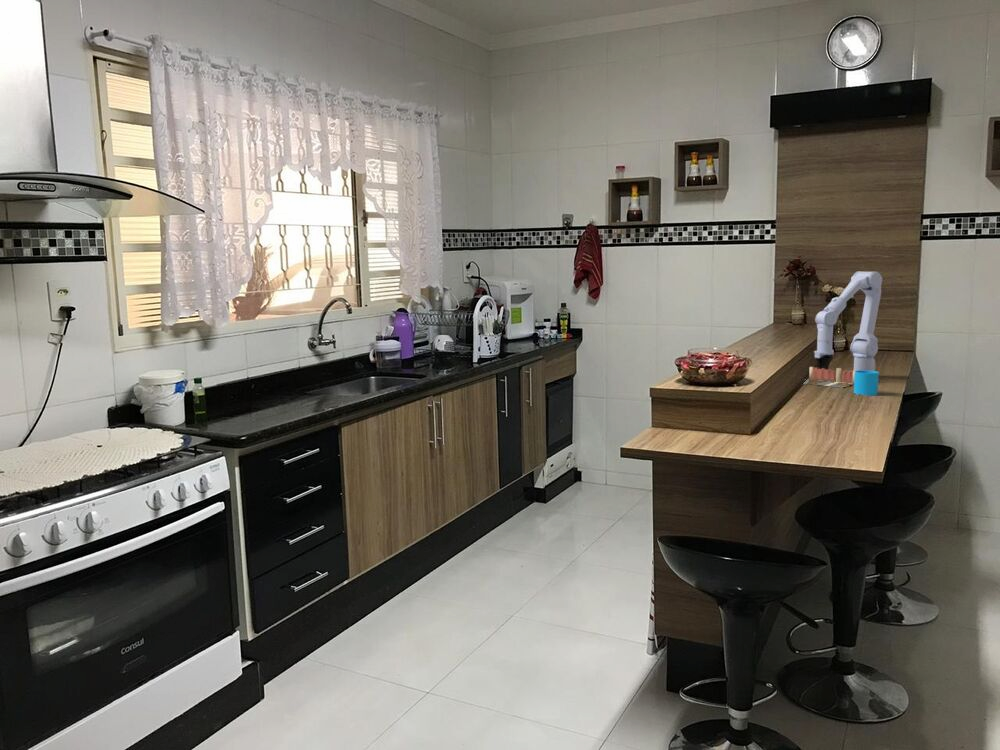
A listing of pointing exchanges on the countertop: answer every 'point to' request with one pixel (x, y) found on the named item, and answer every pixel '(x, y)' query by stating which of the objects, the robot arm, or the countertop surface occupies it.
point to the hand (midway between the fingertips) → (823, 373)
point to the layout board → (828, 383)
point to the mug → (866, 382)
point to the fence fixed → (845, 375)
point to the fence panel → (821, 374)
